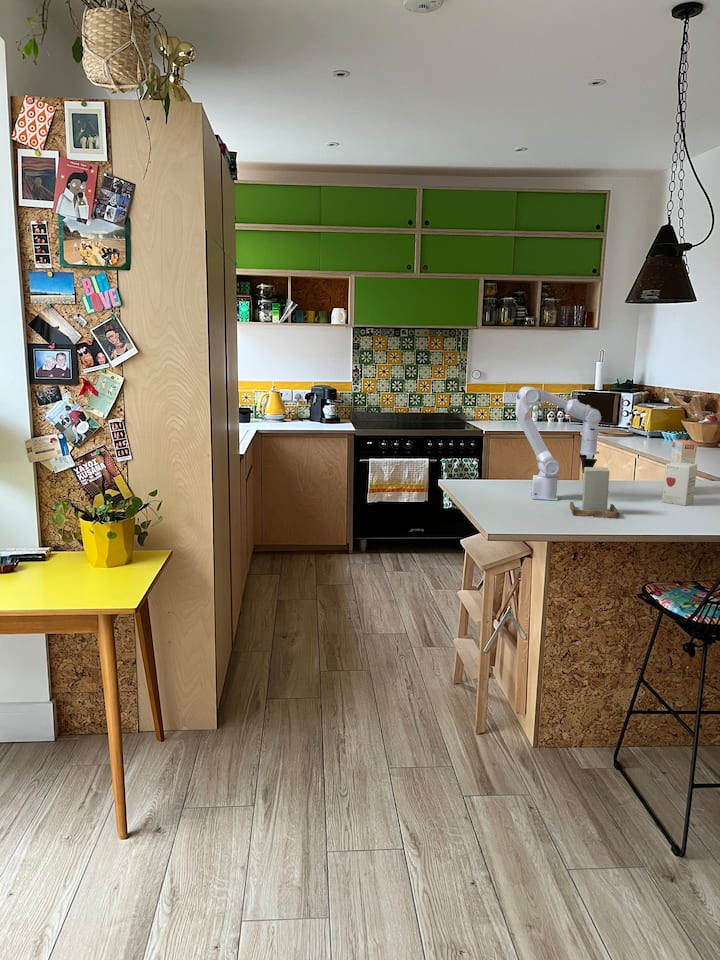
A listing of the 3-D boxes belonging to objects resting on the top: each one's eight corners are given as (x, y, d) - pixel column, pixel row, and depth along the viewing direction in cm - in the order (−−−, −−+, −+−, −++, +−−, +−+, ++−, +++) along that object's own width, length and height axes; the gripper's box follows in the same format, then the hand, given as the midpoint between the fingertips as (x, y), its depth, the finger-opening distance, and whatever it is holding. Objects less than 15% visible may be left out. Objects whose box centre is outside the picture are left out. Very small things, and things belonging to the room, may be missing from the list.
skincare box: (604, 510, 255) (608, 467, 252) (607, 514, 248) (611, 470, 245) (580, 508, 256) (583, 465, 254) (581, 513, 250) (585, 468, 247)
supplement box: (661, 502, 271) (664, 463, 268) (669, 498, 278) (673, 461, 275) (685, 506, 265) (689, 466, 262) (693, 502, 271) (698, 464, 269)
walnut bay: (573, 515, 245) (573, 510, 245) (569, 507, 259) (570, 501, 259) (618, 518, 243) (619, 512, 242) (612, 509, 256) (613, 504, 256)
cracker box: (692, 495, 286) (697, 443, 282) (676, 494, 287) (681, 443, 283) (682, 488, 300) (687, 439, 296) (667, 487, 301) (672, 438, 297)
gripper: (602, 442, 262) (599, 478, 264) (598, 438, 276) (595, 472, 278) (582, 441, 264) (579, 477, 266) (579, 437, 277) (576, 471, 280)
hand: (586, 474), depth 272 cm, fingers open, 7 cm apart
